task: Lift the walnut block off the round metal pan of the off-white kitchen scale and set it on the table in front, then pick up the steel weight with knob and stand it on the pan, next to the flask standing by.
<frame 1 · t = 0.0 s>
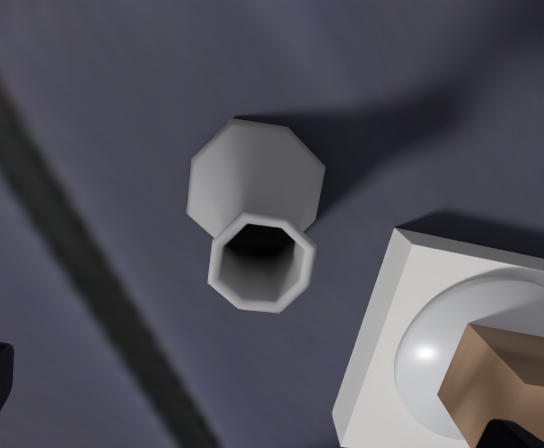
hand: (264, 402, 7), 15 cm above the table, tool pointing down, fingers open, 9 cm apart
flask: (255, 188, 21), on the table
kitchen scale: (451, 343, 25), on the table
walnut block: (490, 366, 21), point 3 cm above the table, touching kitchen scale
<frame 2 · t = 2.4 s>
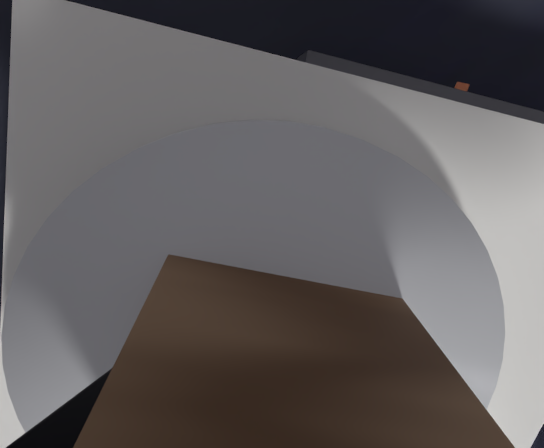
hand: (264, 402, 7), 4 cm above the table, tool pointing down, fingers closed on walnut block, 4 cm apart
kitchen scale: (291, 300, 12), on the table
walnut block: (263, 376, 8), point 4 cm above the table, touching gripper, kitchen scale
when the fingers open (2 cm above the table, at t = 6.1 s): walnut block drops 2 cm, on the table.
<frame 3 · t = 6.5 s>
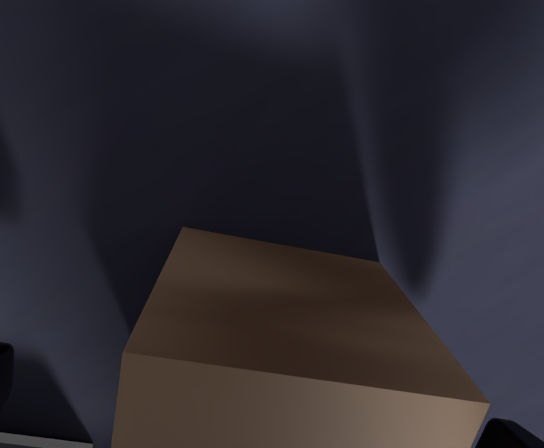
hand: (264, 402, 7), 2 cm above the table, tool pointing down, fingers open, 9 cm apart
walnut block: (263, 329, 10), on the table
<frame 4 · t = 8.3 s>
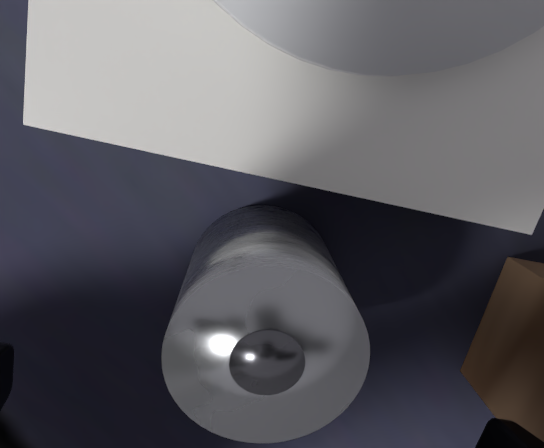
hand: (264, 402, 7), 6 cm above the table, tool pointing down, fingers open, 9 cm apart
steel weight with knob: (260, 271, 13), on the table
walnut block: (540, 325, 14), on the table
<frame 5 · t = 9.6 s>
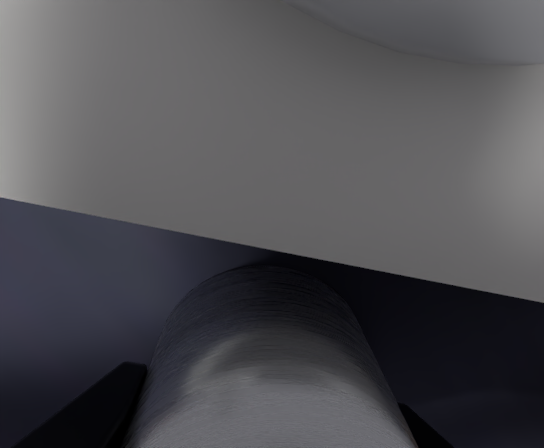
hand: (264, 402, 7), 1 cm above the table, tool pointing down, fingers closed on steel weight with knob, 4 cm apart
steel weight with knob: (262, 359, 9), on the table, touching gripper
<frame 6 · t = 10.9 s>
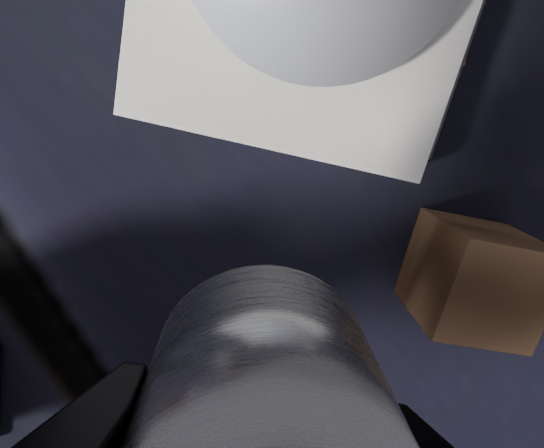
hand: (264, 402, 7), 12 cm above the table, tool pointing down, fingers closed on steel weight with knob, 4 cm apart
steel weight with knob: (262, 358, 9), point 11 cm above the table, touching gripper
walnut block: (448, 257, 20), on the table
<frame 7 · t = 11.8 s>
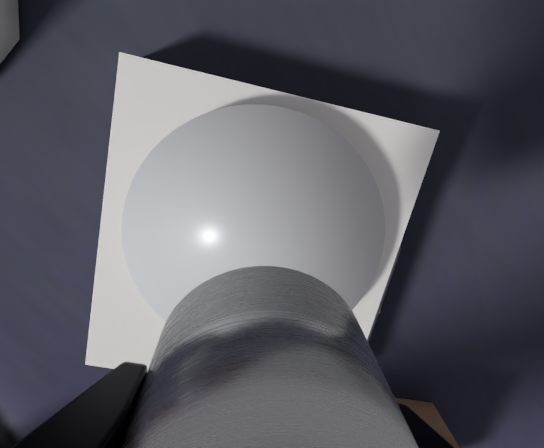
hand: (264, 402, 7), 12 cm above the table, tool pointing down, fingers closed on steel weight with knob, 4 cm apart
steel weight with knob: (262, 360, 9), point 11 cm above the table, touching gripper
kitchen scale: (249, 234, 19), on the table
walnut block: (383, 428, 23), on the table
when the fingers open (6 cm above the table, at t = 13.5 s): steel weight with knob stays where it is, resting on kitchen scale.
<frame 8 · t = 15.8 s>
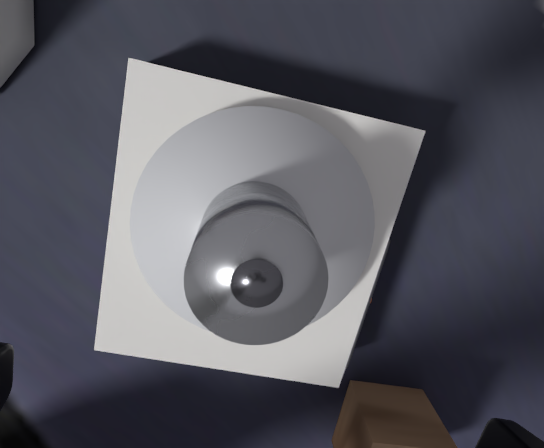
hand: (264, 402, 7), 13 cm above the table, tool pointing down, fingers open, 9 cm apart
steel weight with knob: (254, 233, 16), point 3 cm above the table, touching kitchen scale
kitchen scale: (249, 228, 20), on the table
walnut block: (375, 414, 24), on the table
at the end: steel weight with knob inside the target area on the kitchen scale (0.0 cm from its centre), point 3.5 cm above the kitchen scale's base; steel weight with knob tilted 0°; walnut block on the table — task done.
